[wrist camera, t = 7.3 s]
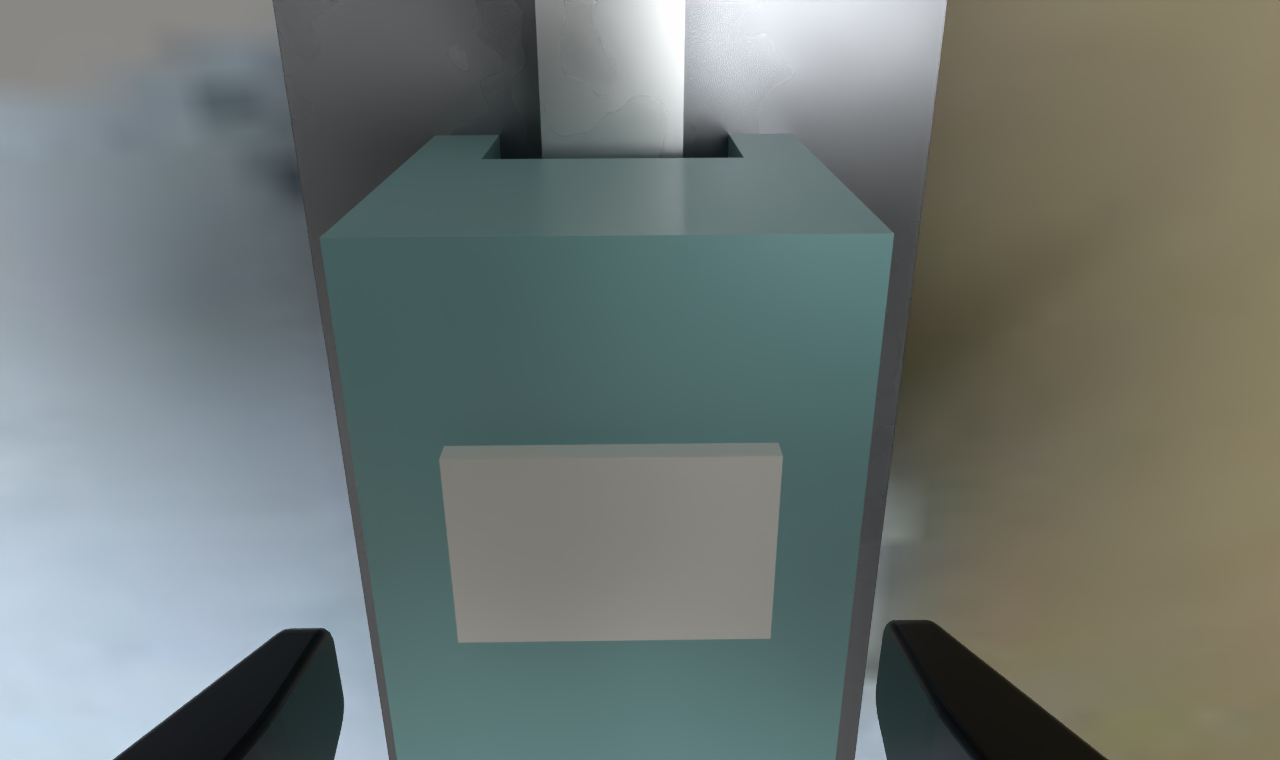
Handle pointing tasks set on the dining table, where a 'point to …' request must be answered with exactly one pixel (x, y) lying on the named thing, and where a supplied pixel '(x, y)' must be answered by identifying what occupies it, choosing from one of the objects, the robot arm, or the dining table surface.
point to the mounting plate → (732, 92)
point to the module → (611, 446)
